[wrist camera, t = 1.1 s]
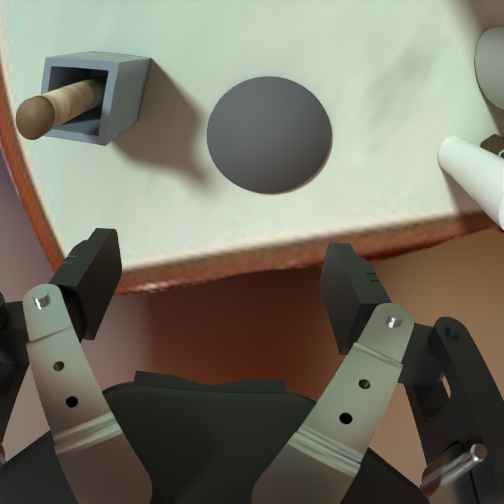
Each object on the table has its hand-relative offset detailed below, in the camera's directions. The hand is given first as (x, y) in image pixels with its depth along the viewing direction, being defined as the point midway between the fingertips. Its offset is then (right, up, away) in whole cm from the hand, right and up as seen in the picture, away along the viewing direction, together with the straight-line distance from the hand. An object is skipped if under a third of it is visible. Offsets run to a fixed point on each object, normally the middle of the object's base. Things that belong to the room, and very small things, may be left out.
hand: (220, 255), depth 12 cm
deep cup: (-15, +19, +18) cm, 30 cm away
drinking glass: (+28, +14, +24) cm, 39 cm away
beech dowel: (-14, +19, +18) cm, 30 cm away
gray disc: (+3, +13, +23) cm, 27 cm away
